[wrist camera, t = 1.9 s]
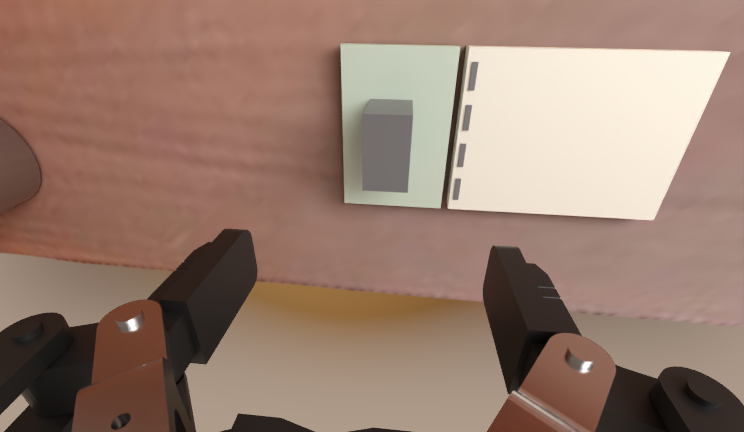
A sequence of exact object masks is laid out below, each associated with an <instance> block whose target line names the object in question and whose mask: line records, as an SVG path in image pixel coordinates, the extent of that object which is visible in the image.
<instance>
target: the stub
mask: <svg viewBox="0 0 744 432" xmlns="http://www.w3.org/2000/svg"><path fill="white" fill-rule="evenodd" d="M459 54H460V46H453V45H406V44H358V43H342V44H341V84H342V124H343V164H344V203H355V204H373V205H390V206H408V207H426V208H441V201H442V192H443V184H444V176H445V168H446V160H447V152H448V143H449V135H450V127H451V119H452V111H453V103H454V95H455V86H456V78H457V70H458V62H459Z"/></svg>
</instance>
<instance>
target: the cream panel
mask: <svg viewBox="0 0 744 432" xmlns="http://www.w3.org/2000/svg"><path fill="white" fill-rule="evenodd" d="M729 54H730V52H721V51H697V50H650V49H602V48H554V47H507V46H466V52H465V60H464V68H463V76H462V83H461V91H460V99H459V106H458V114H457V122H456V129H455V137H454V145H453V153H452V160H451V168H450V176H449V183H448V191H447V199H446V202H447V207H448V209H462V210H479V211H497V212H515V213H533V214H551V215H569V216H586V217H604V218H622V219H640V220H654V218H655V216H656V214H657V212H658V209H659V207H660V205H661V203H662V201H663V198H664V196H665V194H666V192H667V190H668V188H669V185H670V183H671V181H672V179H673V177H674V174H675V172H676V170H677V168H678V166H679V164H680V161H681V159H682V157H683V155H684V153H685V150H686V148H687V146H688V144H689V142H690V140H691V137H692V135H693V133H694V131H695V129H696V126H697V124H698V122H699V120H700V118H701V116H702V113H703V111H704V109H705V107H706V105H707V102H708V100H709V98H710V96H711V94H712V92H713V89H714V87H715V85H716V83H717V81H718V78H719V76H720V74H721V72H722V70H723V68H724V65H725V63H726V61H727V59H728V57H729Z"/></svg>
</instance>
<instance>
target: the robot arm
mask: <svg viewBox="0 0 744 432" xmlns="http://www.w3.org/2000/svg"><path fill="white" fill-rule="evenodd" d="M40 180H41V175H40V170H39V166H38V163H37V161H36V159H35V156H34V154H33V153H32V151H31V150H30V148H29V146H28V145H27V144H26V143H25V141H24V140H23V139H22V138H21V137H20V135H19V134H18V133H17V132H15V131H14V130H13V129H12V128H11V127H10V126H9V125H8V124H6V123H5V122H4V121H2V120H1V119H0V215H1V214H3V213H5V212H8V211H10V210H12V209H14V208H15V206H16V205H17V204H19V203H21V202H23V201H26V200H28V199H29V198H31V197H33V196H34V195H35V194H36V192H37V191H38V189H39V186H40ZM184 261H185V262H184V263H182V264H181V265H180V266H179V267H178V268H177V270H176V271H174V272H173V273H172V274H171V275H170V276H169V277H168V278H167V279H166V280H165V281H164V282H163V283H162V284H161V285H160V286H159V287H158V288H157V289H156V290H155V291H154V292H153V293H152V294H151V296H150V297H149V298H148V299H147V300H137V301H132V302H129V303H126V304H124V305H121V306H119V307H117V308H115V309H114V310H112V311H111V312H109V313H108V314H107V315H105V316H104V317H103V318H102V320H101V321H100V322H99V323H94V324H88V325H81V326H75V327H69V326H68V324H67V322H66V320H65V319H64V317H63V316H62V315H61V314H58V313H42V314H38V315H34V316H30V317H28V318H25V319H22V320H20V321H18V322H16V323H14V324H12V325H10V326H9V327H7V328H6V329H4V330H3V331H1V332H0V414H1V413H2V412H3V411H4V410H5V409H6V408H7V407H8V406H9V405H10V404H11V403H12V402H13V401H14V400H15V399H16V398H17V397H18V396H19V395H20V394H22V395H23V397H24V398H25V399H26V401H27V402H28V403H29V406H28V407H27V408H26V409H25V410H24V411H23V412H22V413H21V415H20V416H19V417H17V419H16V420H15V421H14V422H13V423H12V424H11V425H10V426H9V427H8V428H7V429H6V430H5V431H4V432H196V429H195V423H194V417H193V411H192V406H191V399H190V394H189V388H188V382H187V377H186V374H185V370H186V368H187V367H188V365H189V364H190V363H198V364H206V363H207V362H208V361H209V359H210V357H211V356H212V354H213V352H214V351H215V349H216V347H217V346H218V344H219V342H220V341H221V339H222V338H223V336H224V334H225V333H226V331H227V329H228V328H229V326H230V324H231V323H232V321H233V319H234V318H235V316H236V314H237V313H238V311H239V309H240V308H241V306H242V305H243V303H244V301H245V300H246V298H247V296H248V294H249V293H250V291H251V290H252V288H253V286H254V284H255V282H256V278H257V264H256V258H255V253H254V247H253V242H252V236H251V233H250V232H249V231H248V230H239V229H224V230H223V231H222V232H221V233H220V234H219V235H218V236H217V237H216V238H215V239H214V241H213V242H208V243H206V244H204V245H203V246H201V247H199V248H198V249H196V250H194V251H193V252H192V253H191V254H190V255H189V256H188V257H187V258H186V259H185V260H184ZM483 300H484V305H485V309H486V313H487V316H488V320H489V324H490V328H491V331H492V335H493V339H494V342H495V346H496V350H497V354H498V358H499V361H500V365H501V369H502V373H503V376H504V380H505V384H506V388H507V392H508V394H510V396H509V397H508V399H507V400H506V402H505V404H504V405H503V407H502V408H501V410H500V411H499V413H498V415H497V416H496V418H495V419H494V421H493V423H492V424H491V426H490V427H489V429H488V431H487V432H744V405H743V404H742V403H741V402H740V400H739V399H738V398H737V397H736V396H735V395H734V394H733V393H732V392H730V391H729V390H728V389H727V388H726V387H724V386H723V385H722V384H720V383H719V382H717V381H716V380H714V379H712V378H710V377H709V376H706V375H704V374H702V373H700V372H698V371H695V370H691V369H688V368H684V367H669V368H666V369H664V370H663V371H662V372H661V374H660V375H659V377H658V379H656V378H653V377H650V376H647V375H643V374H641V373H637V372H634V371H631V370H628V369H625V368H622V367H620V366H617V365H615V364H614V362H613V360H612V358H611V357H610V355H609V354H608V353H607V352H606V351H605V350H604V349H603V348H602V347H601V346H599V345H598V344H597V343H595V342H593V341H592V340H590V339H588V338H585V337H583V336H582V335H581V334H580V332H579V330H578V328H577V326H576V325H575V323H574V321H573V319H572V317H571V316H570V314H569V312H568V310H567V308H566V307H565V305H564V303H563V301H562V300H560V296H559V294H558V292H557V290H556V289H554V285H553V283H552V281H551V280H550V278H549V276H548V274H546V273H545V272H544V271H543V270H542V269H541V268H539V267H538V266H537V265H536V264H530V263H526V261H525V259H524V257H523V255H522V253H521V251H520V249H519V248H518V247H508V246H493V247H492V248H491V251H490V256H489V260H488V265H487V270H486V275H485V280H484V285H483ZM222 432H314V431H312V430H309V429H307V428H304V427H302V426H299V425H297V424H294V423H292V422H290V421H287V420H285V419H282V418H275V417H266V416H256V415H247V414H238V415H237V418H236V420H235V422H234V424H233V426H232V429H229V430H225V431H222ZM350 432H409V431H400V430H390V429H381V428H370V429H363V430H357V431H350Z"/></svg>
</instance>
